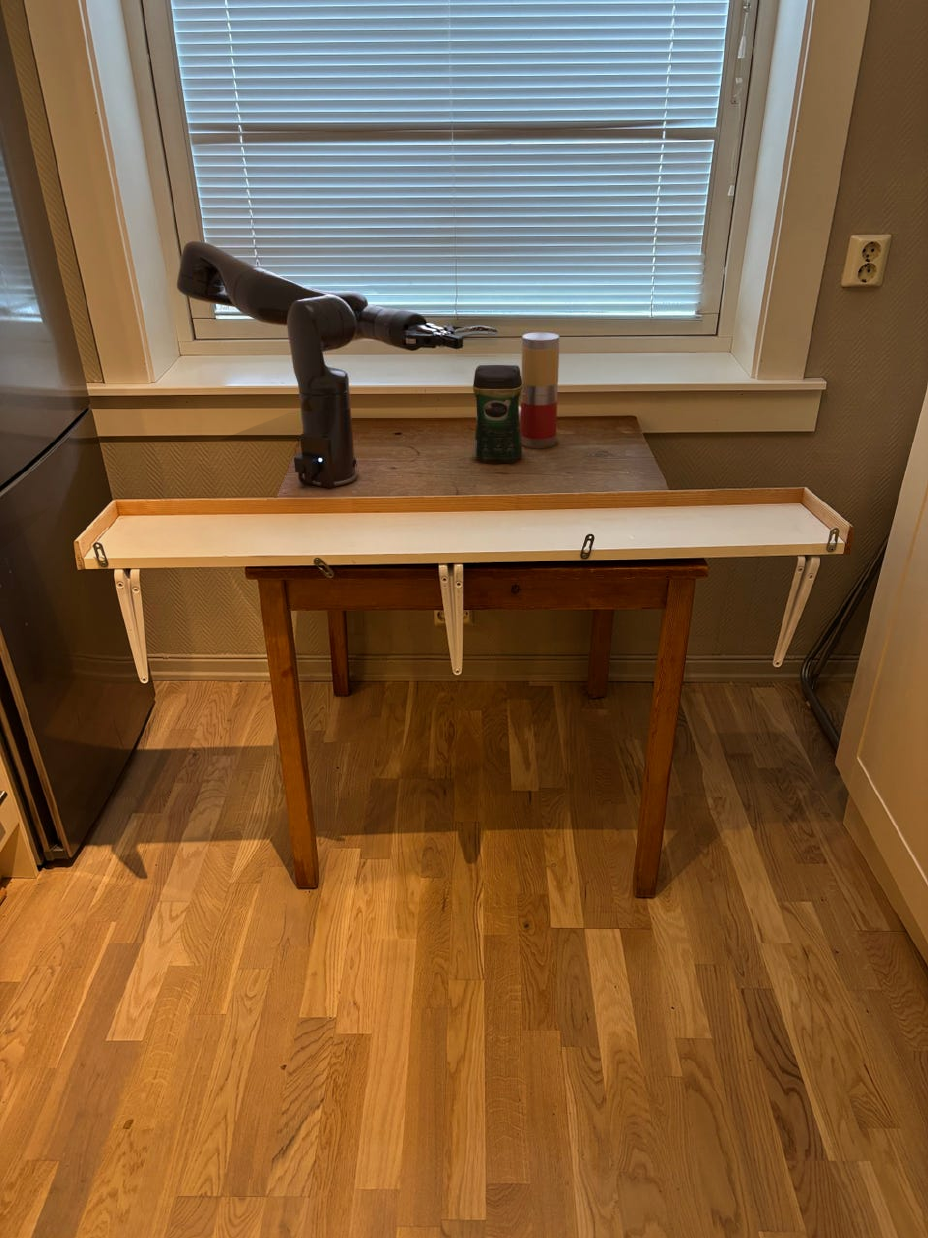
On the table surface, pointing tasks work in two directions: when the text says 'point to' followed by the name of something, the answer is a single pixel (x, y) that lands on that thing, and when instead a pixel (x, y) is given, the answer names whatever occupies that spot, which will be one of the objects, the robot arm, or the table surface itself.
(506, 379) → the coffee jar
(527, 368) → the tin cans
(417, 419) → the table surface
